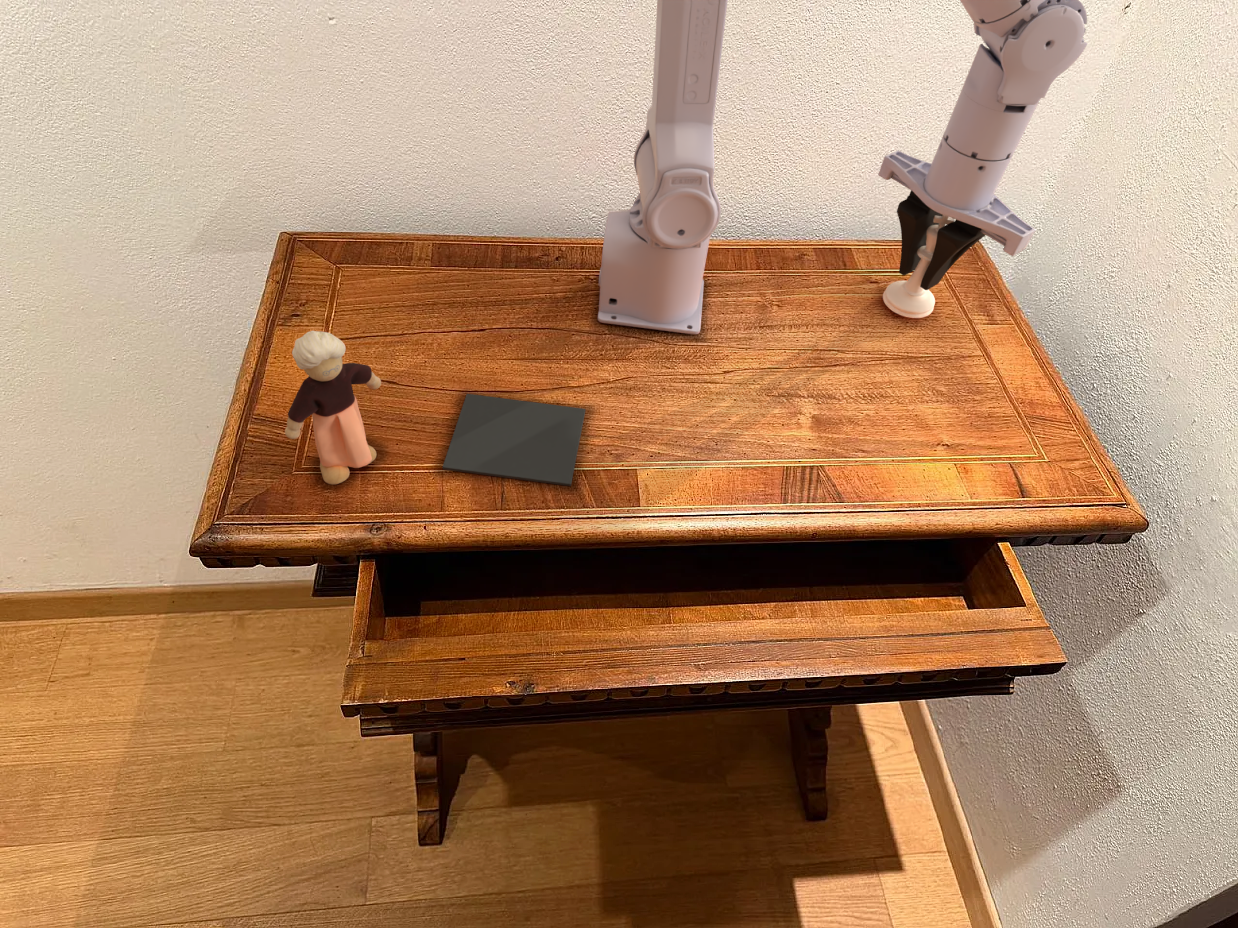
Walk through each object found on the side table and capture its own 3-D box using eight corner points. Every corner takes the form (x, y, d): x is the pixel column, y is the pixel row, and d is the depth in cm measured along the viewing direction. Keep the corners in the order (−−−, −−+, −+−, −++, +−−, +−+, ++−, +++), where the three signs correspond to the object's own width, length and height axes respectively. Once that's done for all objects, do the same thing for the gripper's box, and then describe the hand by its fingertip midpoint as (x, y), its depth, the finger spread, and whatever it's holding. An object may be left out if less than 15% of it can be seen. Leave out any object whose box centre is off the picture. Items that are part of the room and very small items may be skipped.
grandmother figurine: (335, 503, 59) (291, 381, 49) (297, 479, 60) (247, 356, 50) (405, 438, 63) (378, 315, 53) (369, 418, 64) (336, 293, 54)
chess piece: (934, 322, 76) (978, 232, 68) (883, 313, 76) (920, 223, 68) (932, 290, 79) (973, 201, 71) (882, 282, 79) (917, 192, 72)
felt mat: (442, 469, 61) (442, 467, 61) (467, 395, 66) (466, 393, 66) (570, 486, 61) (570, 484, 61) (585, 411, 66) (585, 408, 66)
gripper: (1083, 169, 63) (1007, 303, 74) (936, 93, 70) (886, 226, 80) (1034, 196, 60) (962, 332, 71) (885, 114, 67) (840, 249, 77)
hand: (918, 278), depth 75 cm, fingers closed on chess piece
